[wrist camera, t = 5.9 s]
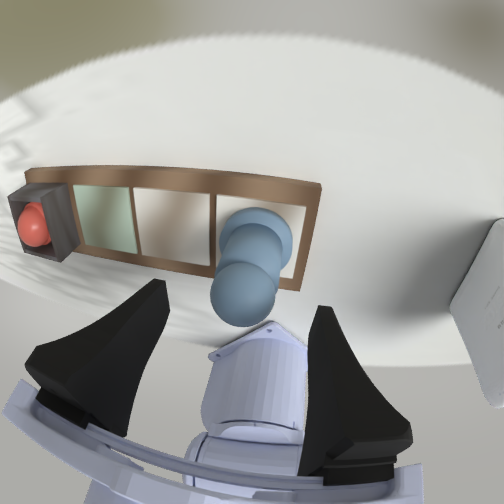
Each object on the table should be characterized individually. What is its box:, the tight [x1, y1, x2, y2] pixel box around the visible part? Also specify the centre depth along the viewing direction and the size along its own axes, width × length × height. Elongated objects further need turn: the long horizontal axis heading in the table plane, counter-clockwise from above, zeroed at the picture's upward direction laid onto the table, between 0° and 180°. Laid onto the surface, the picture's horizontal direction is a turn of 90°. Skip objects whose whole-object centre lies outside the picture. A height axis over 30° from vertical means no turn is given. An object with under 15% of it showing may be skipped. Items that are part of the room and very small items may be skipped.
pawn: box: [210, 207, 293, 327], centre depth 15 cm, size 5×5×7 cm
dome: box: [18, 202, 51, 247], centre depth 18 cm, size 4×4×4 cm
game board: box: [8, 165, 322, 291], centre depth 18 cm, size 26×8×4 cm, turn 86°
